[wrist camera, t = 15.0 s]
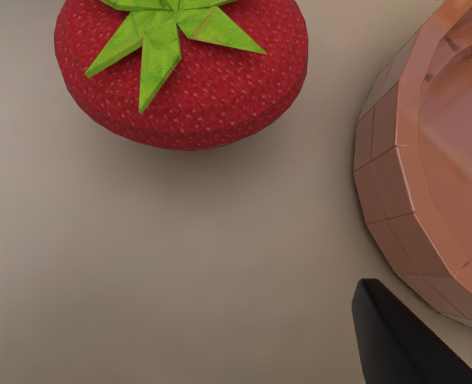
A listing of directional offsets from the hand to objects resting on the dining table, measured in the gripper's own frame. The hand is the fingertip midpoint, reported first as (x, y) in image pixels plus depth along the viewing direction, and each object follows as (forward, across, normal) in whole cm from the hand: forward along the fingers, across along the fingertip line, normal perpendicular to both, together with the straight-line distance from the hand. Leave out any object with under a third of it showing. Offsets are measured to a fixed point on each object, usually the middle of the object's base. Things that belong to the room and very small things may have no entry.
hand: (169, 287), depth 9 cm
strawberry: (+10, 0, 0) cm, 10 cm away
